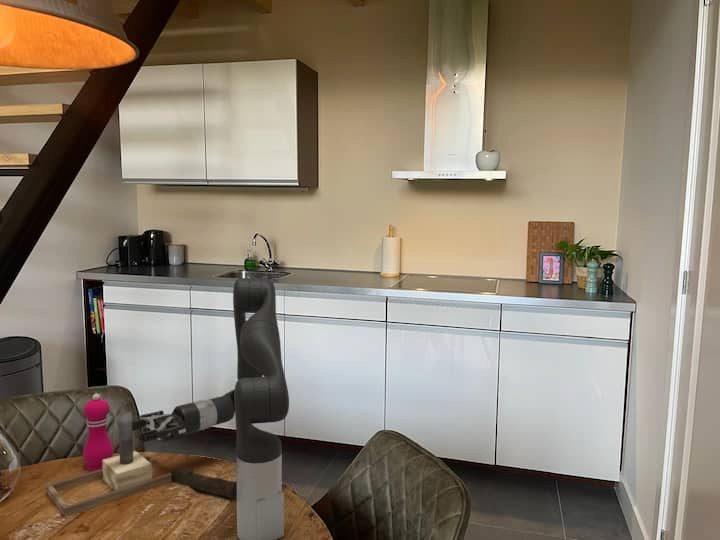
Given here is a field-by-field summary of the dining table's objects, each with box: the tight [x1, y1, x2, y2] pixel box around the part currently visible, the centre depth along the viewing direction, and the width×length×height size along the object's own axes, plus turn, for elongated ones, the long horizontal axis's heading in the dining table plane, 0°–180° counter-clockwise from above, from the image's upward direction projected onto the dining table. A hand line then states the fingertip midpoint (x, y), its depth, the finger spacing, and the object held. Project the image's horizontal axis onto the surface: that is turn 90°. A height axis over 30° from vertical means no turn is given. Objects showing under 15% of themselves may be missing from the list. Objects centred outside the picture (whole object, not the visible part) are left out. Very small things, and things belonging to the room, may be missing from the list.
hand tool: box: [170, 466, 237, 502], centre depth 137 cm, size 19×4×5 cm, turn 67°
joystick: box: [102, 411, 154, 491], centre depth 138 cm, size 10×8×17 cm
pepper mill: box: [82, 393, 115, 471], centre depth 147 cm, size 7×7×20 cm
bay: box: [45, 455, 173, 518], centre depth 136 cm, size 14×24×3 cm, turn 133°
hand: (133, 432), depth 138 cm, fingers open, 8 cm apart
